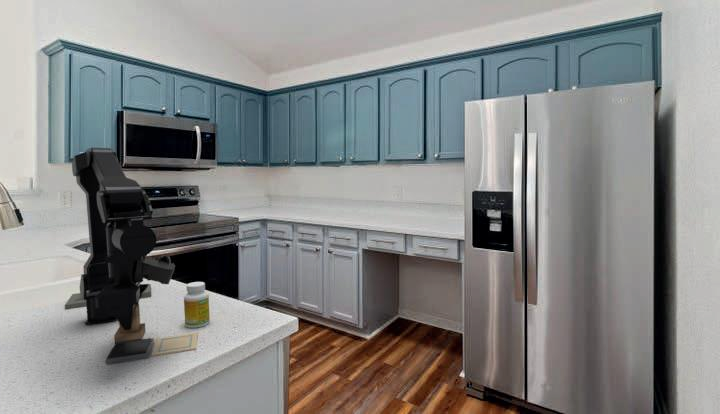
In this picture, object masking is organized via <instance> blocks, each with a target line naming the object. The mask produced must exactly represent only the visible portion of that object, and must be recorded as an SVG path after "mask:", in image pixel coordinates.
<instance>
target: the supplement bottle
mask: <svg viewBox="0 0 720 414" xmlns="http://www.w3.org/2000/svg"><path fill="white" fill-rule="evenodd" d="M209 298H210V297H209V293H208V291H207V290H206V283H205V282H203V281H194V282H189V283H186V293H185V294H184V296H183V306H184V307H183V308H184V309H183V310H184V325H185V327H187V328H191V329H196V328H202V327H204V326H206V325H208V324H209V323H210V302H209V301H210V299H209Z"/></svg>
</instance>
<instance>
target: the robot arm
mask: <svg viewBox="0 0 720 414" xmlns="http://www.w3.org/2000/svg"><path fill="white" fill-rule="evenodd" d="M71 170H72V171H71V172H72V176H73V177H75V179H76V184H77V185H78V187H79V188H80V189H81V190H82V191H83V192H84V194H85V199H86V200H85V201H86V212H87V223H88V224H87V225H88V236H89V237H88V239H89V253H90V255H89V256H88V258H87V260H86V262H85V263H84V264H83V274H80V282H79V293H80V295H81V297H82V299H83V300H86V307H85V308H86V317H87V320H86V321H85V322H84V325H93V324H101V323H108V322H109V323H111V322H115V321H116V322H118V324H119V323H120V324H121V326H122V327H123V329H124V330H130V329H131V327H132V320H133V313H134V306H135V304H140V303H139V302H140V300H141V297H142V295H143V294H142V293H143V292H144V291H145V290H146V289H147V287H148V285H149V284H150V283H143V282H144V279H145V280H147V281H148V282H149V281H153V282H158V283H159V284H161V285H170V282H171V279H172V278H173V277H172V276H173V274H174V271H175V268H176V265H175V263H174V262H172V261H171V257H170V256H169V255H166V254H162V255H160V256H159V258H158V259H156V258H153V259H151V258H147V255H149V254H151V252H153V250H154V249H155V247H156V244H157V236H156V234H155V232H154V230H153V229H152V228H151V227H150V226H147V225H145V224H144V221H147V220H148V221H149V220H153V213H154V210H153V208H152V204H151V201H150V199H149V198H150V197H149V196H148V195H147V193H146V190H145V189H143V188H142V186H141V185H140V184H139V182H137V181H136V179H135V180H134V179H131V178H129V177H127V176H126V175H125V173H124V170H123V168H122V167H121V165H120V163H119V158H118V156H117V153H116V150H115V149H112V148H110V147H90V148H87V149H86V150H85V151H84V152H81V153H78V154H75V155H74V157H73V159H72V162H71ZM86 291H89V292H86Z"/></svg>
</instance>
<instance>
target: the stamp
mask: <svg viewBox="0 0 720 414" xmlns="http://www.w3.org/2000/svg"><path fill="white" fill-rule="evenodd" d="M145 334H146V322H143V323H141V313H140V303H138V304H135V306H134V313H133V320H132V327H131V329H130V330H124V329H123V327H122V326H121V324H120V323H119V322H118V328H117V330H116V332H115V333H114V335H113V336H114V345H115V344H120V343H127V342H135V341H142V339H144V335H145Z"/></svg>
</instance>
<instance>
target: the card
mask: <svg viewBox="0 0 720 414" xmlns="http://www.w3.org/2000/svg"><path fill="white" fill-rule="evenodd" d="M198 335H199V332H191V333H185V334H179V335H170V336H163V337H157V338H156V342H155V343H154V346H153V348H152V351H151V357H156V356H163V355H169V354H174V353H176V354H177V353H182V352H188V351H194V350H197V345H198Z"/></svg>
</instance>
